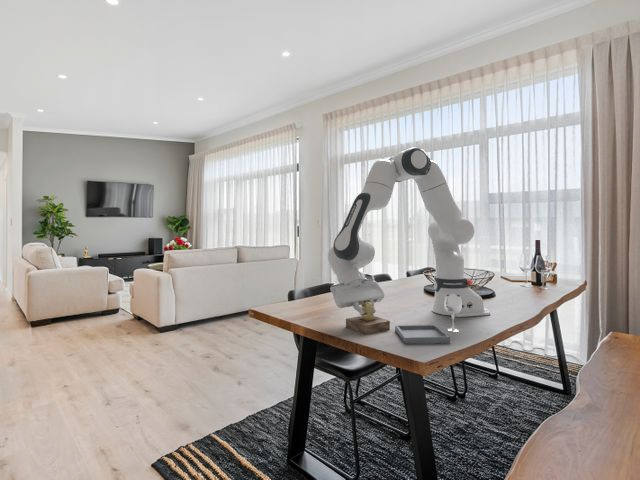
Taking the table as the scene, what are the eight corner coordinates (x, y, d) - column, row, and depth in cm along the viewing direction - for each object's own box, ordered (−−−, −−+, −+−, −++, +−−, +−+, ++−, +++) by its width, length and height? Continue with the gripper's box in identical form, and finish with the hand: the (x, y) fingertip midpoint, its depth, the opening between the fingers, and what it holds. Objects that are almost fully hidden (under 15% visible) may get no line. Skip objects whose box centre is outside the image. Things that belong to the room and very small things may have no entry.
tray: (435, 330, 130) (435, 324, 130) (449, 343, 116) (449, 336, 116) (395, 330, 130) (395, 325, 130) (404, 344, 116) (404, 337, 116)
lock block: (369, 322, 141) (369, 314, 141) (389, 329, 132) (389, 320, 132) (345, 326, 136) (345, 318, 135) (365, 334, 126) (364, 325, 126)
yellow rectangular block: (368, 326, 136) (368, 301, 135) (373, 328, 133) (373, 303, 133) (361, 327, 134) (361, 302, 134) (366, 329, 132) (366, 304, 131)
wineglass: (441, 328, 133) (441, 294, 132) (457, 327, 133) (457, 293, 133) (448, 332, 127) (448, 297, 126) (464, 332, 127) (465, 297, 127)
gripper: (331, 279, 133) (348, 312, 126) (376, 274, 144) (394, 304, 136) (325, 290, 137) (340, 322, 130) (369, 284, 148) (386, 314, 140)
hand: (368, 313), depth 133 cm, fingers closed on yellow rectangular block, 3 cm apart
